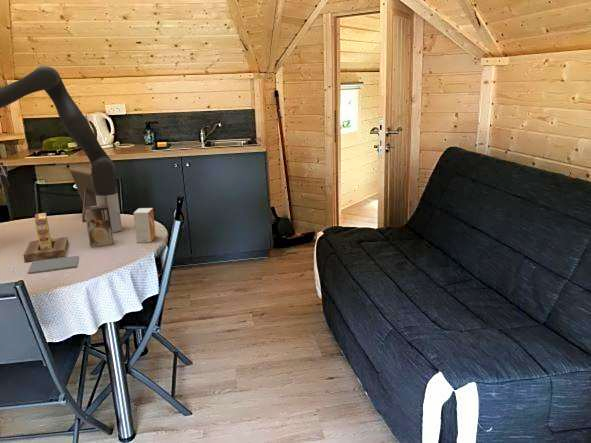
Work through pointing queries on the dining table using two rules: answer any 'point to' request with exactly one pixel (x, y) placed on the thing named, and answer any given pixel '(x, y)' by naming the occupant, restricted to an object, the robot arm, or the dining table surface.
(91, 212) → the coffee box
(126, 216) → the dining table surface
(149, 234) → the small box
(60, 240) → the pocket board
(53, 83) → the robot arm
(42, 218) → the candy box
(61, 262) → the slate mat
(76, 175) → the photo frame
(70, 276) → the dining table surface
